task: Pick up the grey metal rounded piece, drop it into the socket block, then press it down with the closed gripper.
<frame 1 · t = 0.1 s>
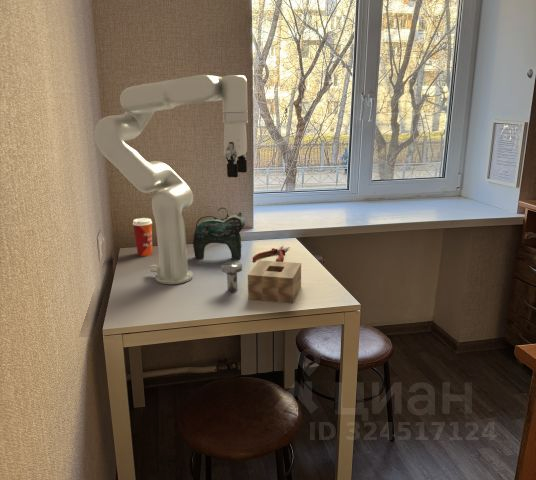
hand: (237, 174, 154), 37 cm above the table, tool pointing down, fingers open, 9 cm apart
grey metal rounded piece: (232, 290, 159), on the table
paper cup: (145, 254, 197), on the table
ceramic cat: (219, 258, 190), on the table
pliers: (278, 258, 191), on the table
socket block: (275, 292, 156), on the table
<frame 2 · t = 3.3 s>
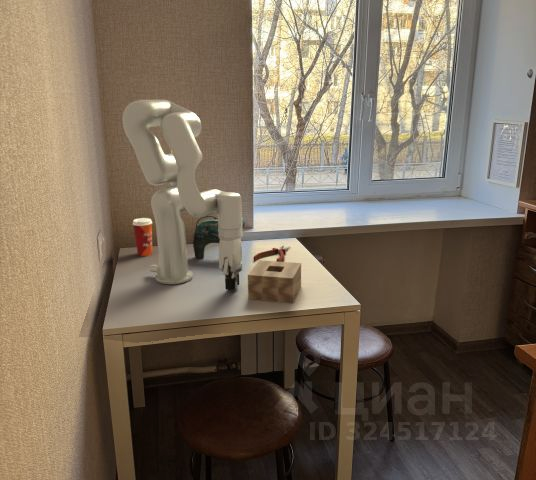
hand: (232, 286, 158), 1 cm above the table, tool pointing down, fingers closed on grey metal rounded piece, 3 cm apart
grey metal rounded piece: (232, 290, 159), on the table, touching gripper
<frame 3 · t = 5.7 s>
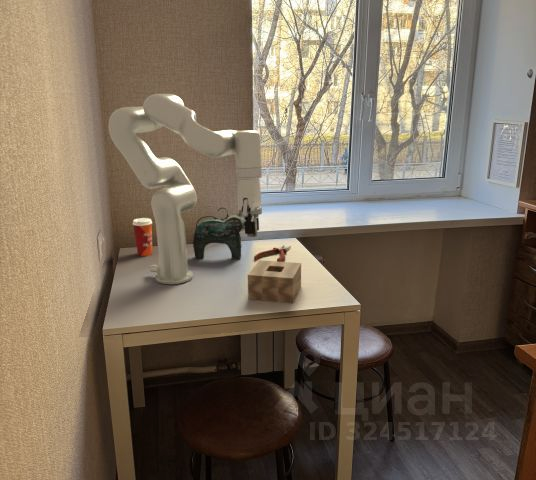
hand: (252, 231, 152), 20 cm above the table, tool pointing down, fingers closed on grey metal rounded piece, 3 cm apart
grey metal rounded piece: (252, 235, 152), point 19 cm above the table, touching gripper
when the fingers open (10 cm above the table, at t = 8.1 s): grey metal rounded piece drops 1 cm, point 8 cm above the table.
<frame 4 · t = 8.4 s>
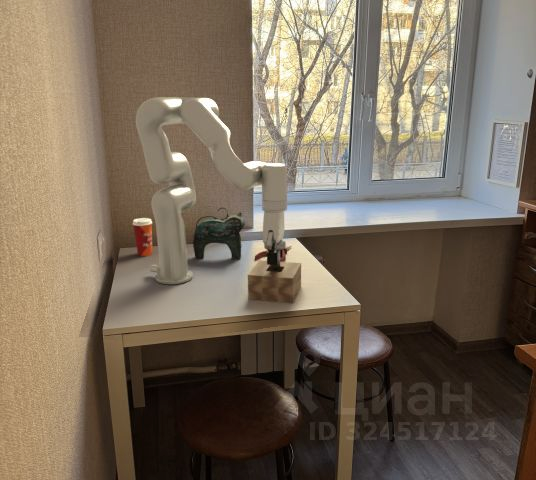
hand: (274, 260, 153), 11 cm above the table, tool pointing down, fingers open, 6 cm apart
grey metal rounded piece: (275, 268, 154), point 8 cm above the table
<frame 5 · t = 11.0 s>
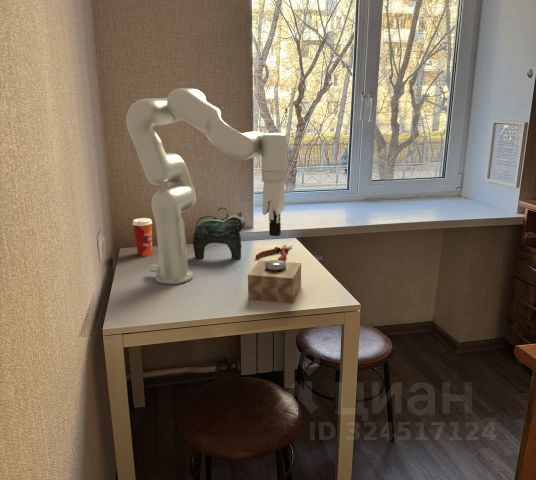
hand: (275, 235, 151), 19 cm above the table, tool pointing down, fingers closed
grey metal rounded piece: (275, 288, 157), point 1 cm above the table, touching socket block
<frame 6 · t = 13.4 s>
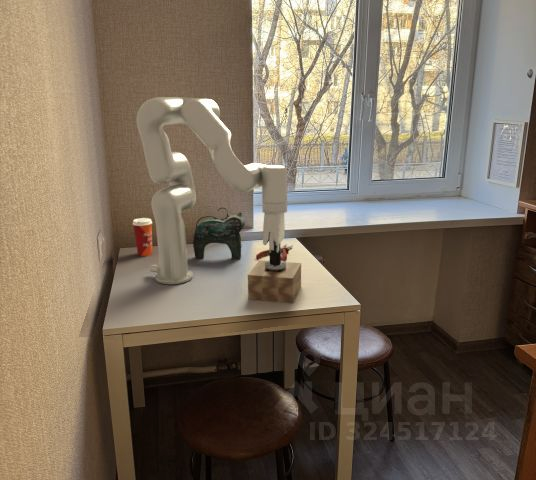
hand: (275, 263, 154), 10 cm above the table, tool pointing down, fingers closed
grey metal rounded piece: (275, 288, 157), point 1 cm above the table, touching gripper, socket block
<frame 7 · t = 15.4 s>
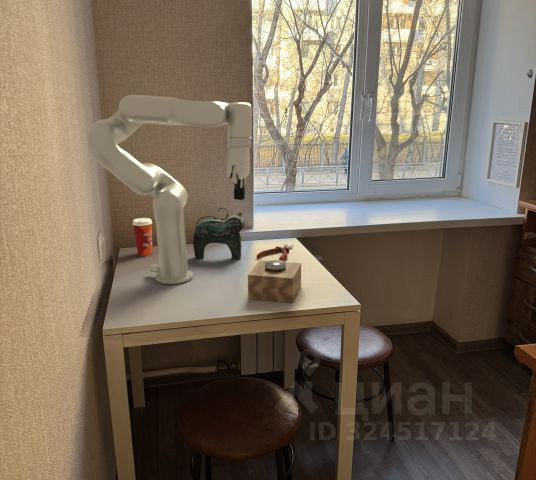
hand: (239, 199, 162), 28 cm above the table, tool pointing down, fingers closed
grey metal rounded piece: (275, 288, 157), point 1 cm above the table, touching socket block
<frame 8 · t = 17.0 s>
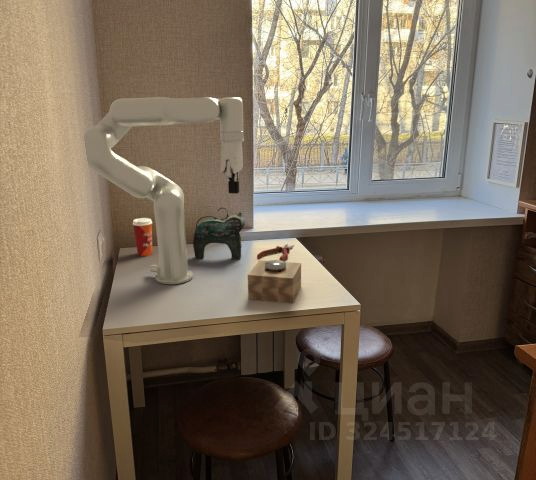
hand: (234, 192, 164), 29 cm above the table, tool pointing down, fingers closed
at the end: grey metal rounded piece 0.6 cm off-centre on the socket block, point 1.0 cm above the socket block's base; grey metal rounded piece tilted 0°; the gripper is holding nothing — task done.
